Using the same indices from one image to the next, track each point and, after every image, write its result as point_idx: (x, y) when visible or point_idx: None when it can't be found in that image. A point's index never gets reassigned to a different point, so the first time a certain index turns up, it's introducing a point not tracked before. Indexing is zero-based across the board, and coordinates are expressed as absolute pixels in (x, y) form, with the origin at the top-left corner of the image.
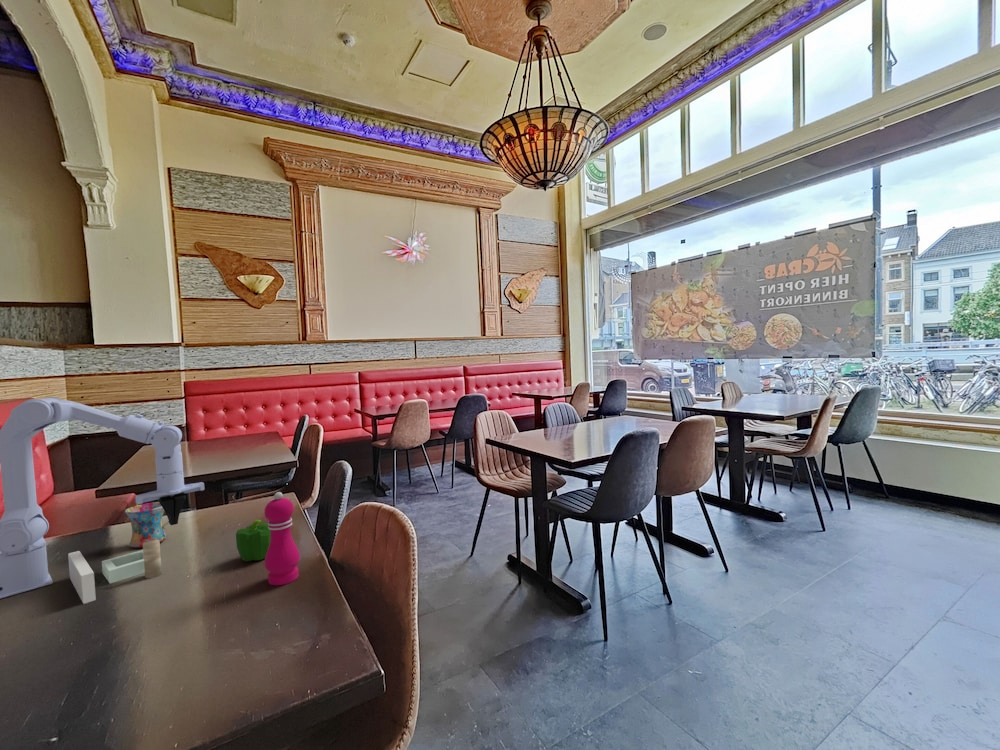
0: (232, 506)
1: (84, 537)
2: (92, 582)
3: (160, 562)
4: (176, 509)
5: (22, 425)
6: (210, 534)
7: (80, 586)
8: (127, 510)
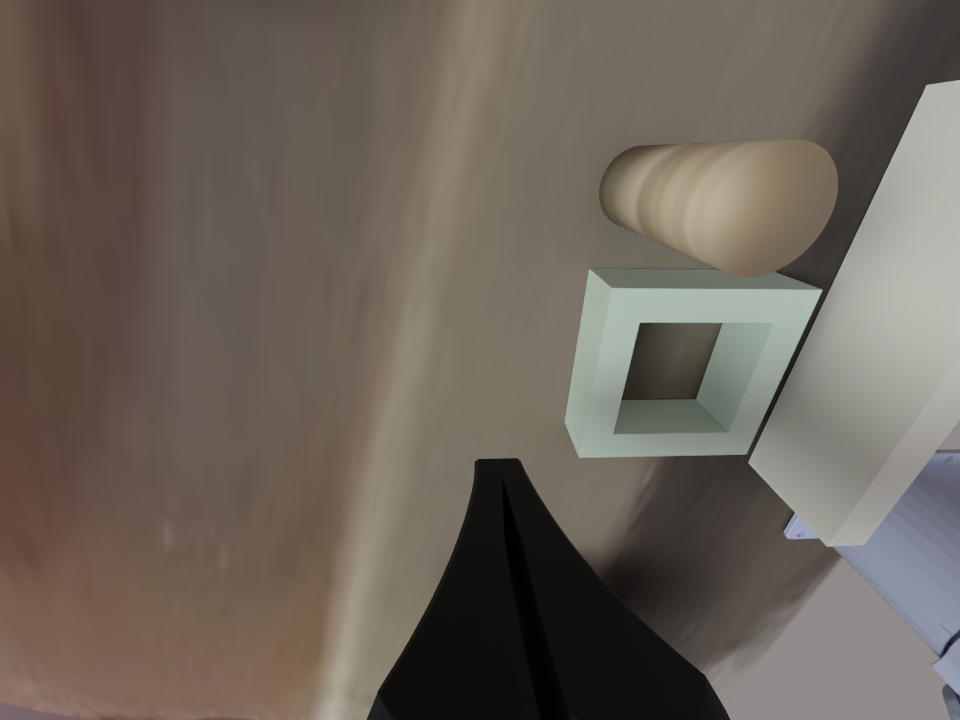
0: (191, 703)
1: None
2: None
3: (636, 168)
4: (498, 568)
5: None
6: (298, 510)
7: None
8: None
